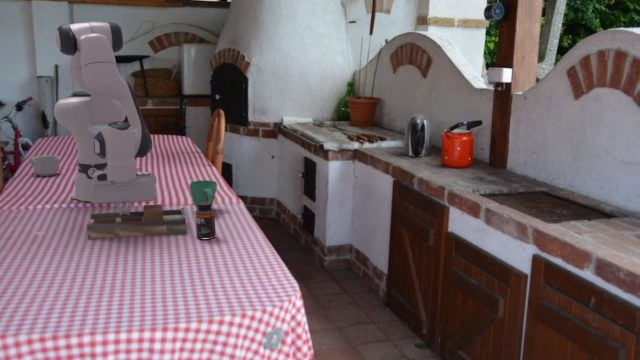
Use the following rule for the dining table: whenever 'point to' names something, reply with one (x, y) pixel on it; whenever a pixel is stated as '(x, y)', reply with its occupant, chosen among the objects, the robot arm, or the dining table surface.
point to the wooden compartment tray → (135, 224)
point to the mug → (203, 191)
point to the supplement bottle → (205, 220)
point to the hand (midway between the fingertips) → (124, 215)
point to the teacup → (45, 165)
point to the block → (153, 212)
